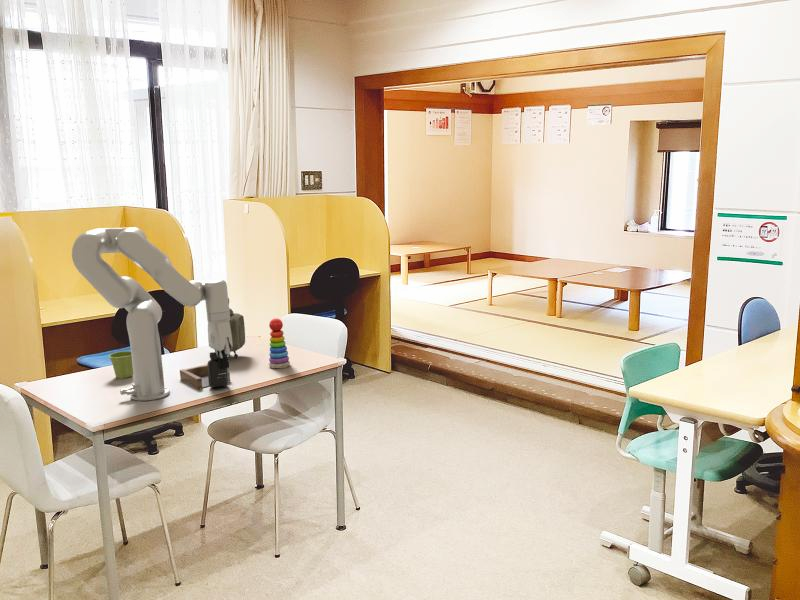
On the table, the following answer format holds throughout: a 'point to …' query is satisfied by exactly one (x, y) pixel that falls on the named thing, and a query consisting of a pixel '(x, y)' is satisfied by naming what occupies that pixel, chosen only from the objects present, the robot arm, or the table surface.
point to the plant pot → (122, 364)
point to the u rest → (197, 376)
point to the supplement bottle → (216, 372)
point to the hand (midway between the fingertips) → (223, 368)
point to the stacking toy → (277, 346)
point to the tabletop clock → (236, 331)
